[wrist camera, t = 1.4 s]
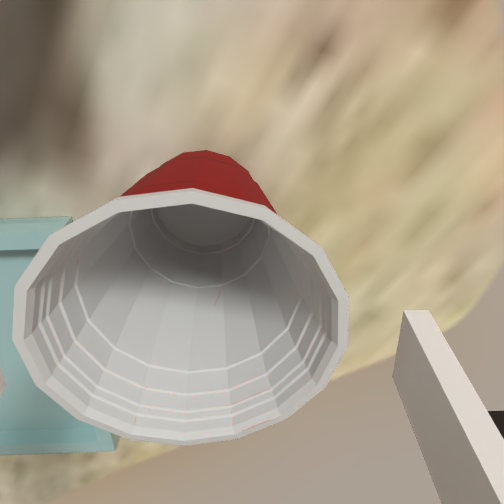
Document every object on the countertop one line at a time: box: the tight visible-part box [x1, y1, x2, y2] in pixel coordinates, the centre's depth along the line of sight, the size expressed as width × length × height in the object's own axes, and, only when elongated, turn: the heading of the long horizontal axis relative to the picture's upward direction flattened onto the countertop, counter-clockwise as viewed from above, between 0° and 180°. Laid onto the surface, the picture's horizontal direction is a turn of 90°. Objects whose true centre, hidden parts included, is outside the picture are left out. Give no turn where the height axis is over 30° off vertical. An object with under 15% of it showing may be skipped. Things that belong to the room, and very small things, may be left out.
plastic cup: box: [12, 150, 349, 446], centre depth 20 cm, size 11×11×12 cm
